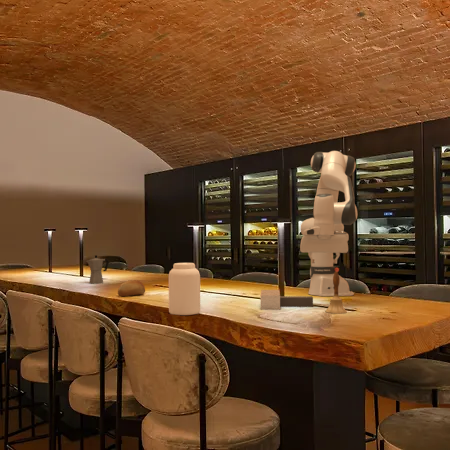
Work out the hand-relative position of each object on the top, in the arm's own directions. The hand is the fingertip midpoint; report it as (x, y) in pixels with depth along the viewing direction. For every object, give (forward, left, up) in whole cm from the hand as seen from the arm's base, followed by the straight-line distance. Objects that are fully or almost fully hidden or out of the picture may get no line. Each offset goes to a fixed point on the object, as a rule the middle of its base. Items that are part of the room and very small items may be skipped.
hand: (323, 263), depth 222 cm
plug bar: (+13, 0, -18) cm, 22 cm away
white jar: (+57, +20, -18) cm, 63 cm away
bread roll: (+94, -36, -19) cm, 102 cm away
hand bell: (-3, +16, -19) cm, 25 cm away
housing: (+23, 0, -18) cm, 29 cm away
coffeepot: (+135, -102, -18) cm, 170 cm away
